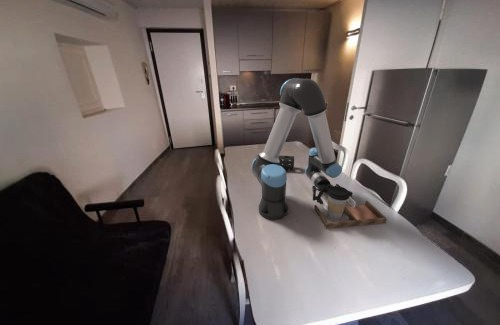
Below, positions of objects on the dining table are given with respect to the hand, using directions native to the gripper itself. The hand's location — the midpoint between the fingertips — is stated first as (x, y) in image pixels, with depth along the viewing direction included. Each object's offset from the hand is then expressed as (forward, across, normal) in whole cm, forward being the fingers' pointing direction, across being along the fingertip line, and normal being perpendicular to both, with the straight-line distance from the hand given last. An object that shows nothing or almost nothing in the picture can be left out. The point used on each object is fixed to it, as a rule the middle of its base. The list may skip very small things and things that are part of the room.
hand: (340, 206), depth 88 cm
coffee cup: (-4, 0, -9) cm, 10 cm away
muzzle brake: (-61, +18, -9) cm, 64 cm away
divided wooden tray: (-4, -7, -9) cm, 12 cm away
